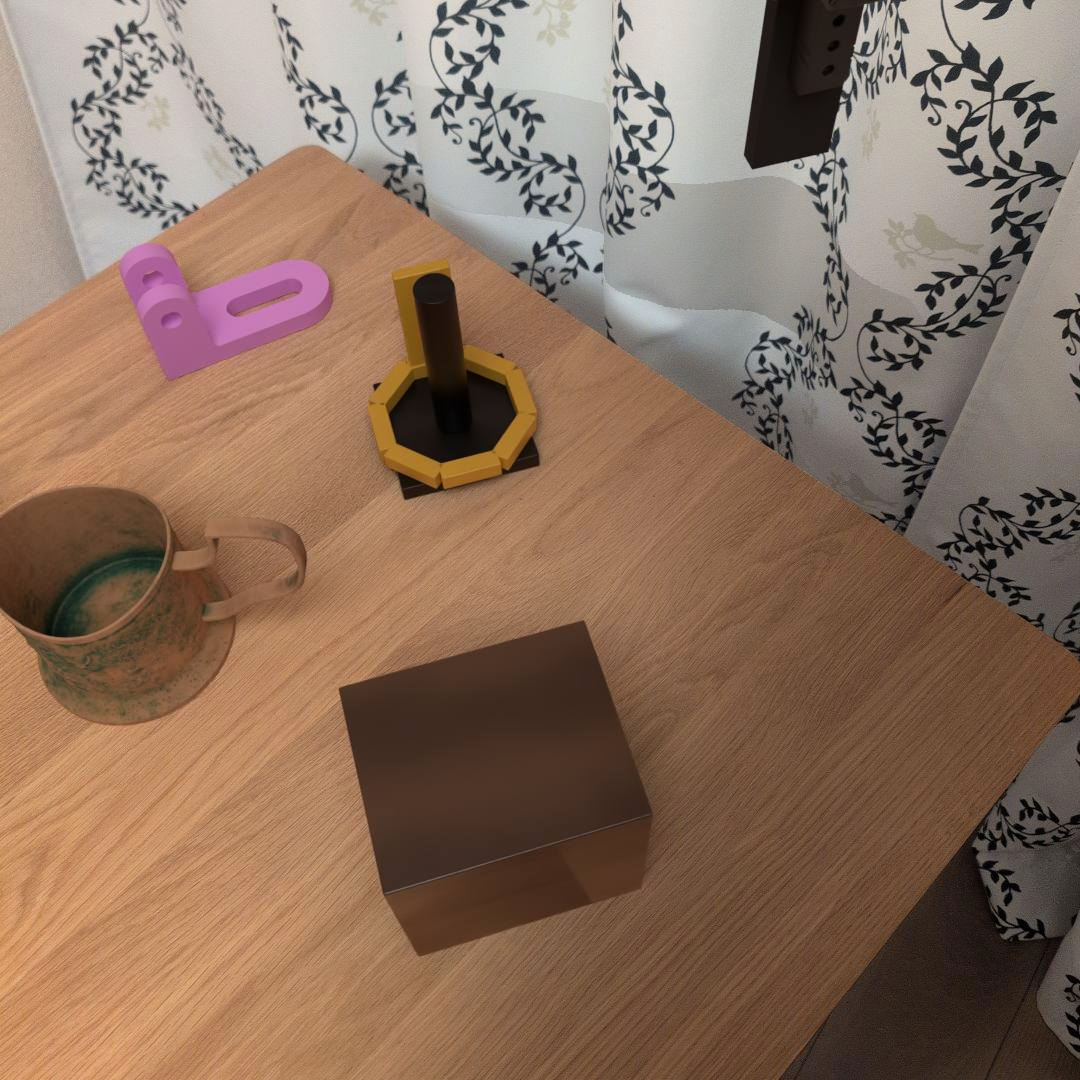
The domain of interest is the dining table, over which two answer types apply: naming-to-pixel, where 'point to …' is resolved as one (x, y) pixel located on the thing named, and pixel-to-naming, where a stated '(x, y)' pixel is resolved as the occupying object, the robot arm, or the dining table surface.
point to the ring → (416, 369)
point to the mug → (124, 599)
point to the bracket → (218, 308)
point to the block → (497, 787)
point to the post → (450, 394)
